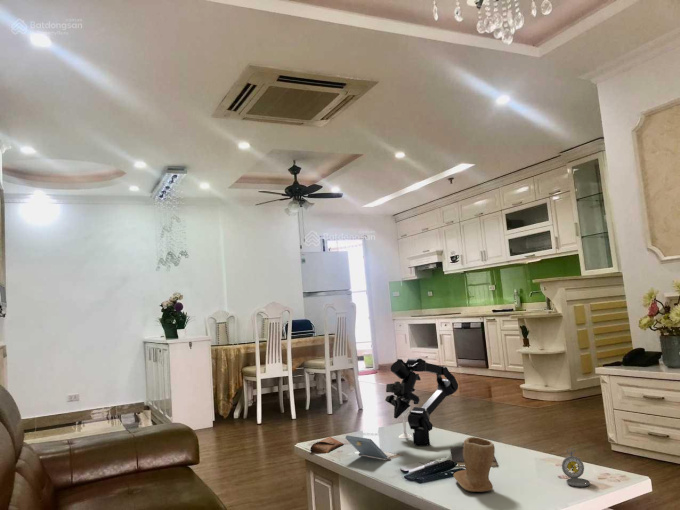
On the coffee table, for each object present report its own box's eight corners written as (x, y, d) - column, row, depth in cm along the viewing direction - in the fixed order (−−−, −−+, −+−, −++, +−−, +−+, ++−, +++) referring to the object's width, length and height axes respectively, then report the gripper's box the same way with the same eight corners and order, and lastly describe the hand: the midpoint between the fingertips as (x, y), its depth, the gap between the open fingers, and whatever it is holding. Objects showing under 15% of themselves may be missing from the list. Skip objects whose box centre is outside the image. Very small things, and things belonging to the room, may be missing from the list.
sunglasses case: (328, 453, 216) (320, 439, 218) (315, 461, 218) (308, 447, 220) (345, 443, 232) (338, 430, 235) (334, 451, 234) (326, 438, 237)
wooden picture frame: (375, 452, 214) (374, 448, 214) (404, 458, 202) (404, 453, 203) (358, 457, 207) (358, 453, 207) (388, 463, 196) (388, 458, 196)
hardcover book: (452, 468, 187) (452, 461, 187) (450, 452, 209) (449, 446, 210) (498, 467, 184) (497, 460, 185) (490, 451, 207) (490, 445, 207)
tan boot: (503, 493, 155) (498, 442, 157) (464, 496, 155) (459, 444, 157) (489, 478, 170) (484, 432, 172) (453, 481, 170) (449, 434, 172)
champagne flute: (397, 438, 237) (394, 385, 240) (398, 435, 243) (395, 383, 247) (412, 438, 236) (408, 384, 239) (412, 435, 242) (409, 383, 246)
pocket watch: (580, 489, 155) (576, 454, 156) (557, 482, 162) (553, 449, 164) (598, 484, 159) (594, 450, 160) (574, 477, 166) (571, 445, 168)
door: (363, 452, 207) (346, 435, 202) (387, 456, 198) (370, 439, 193) (360, 457, 206) (344, 440, 201) (385, 461, 197) (368, 444, 192)
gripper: (382, 377, 229) (369, 410, 221) (404, 372, 213) (391, 407, 205) (401, 390, 231) (389, 422, 223) (425, 385, 215) (413, 420, 208)
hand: (395, 418), depth 215 cm, fingers closed
